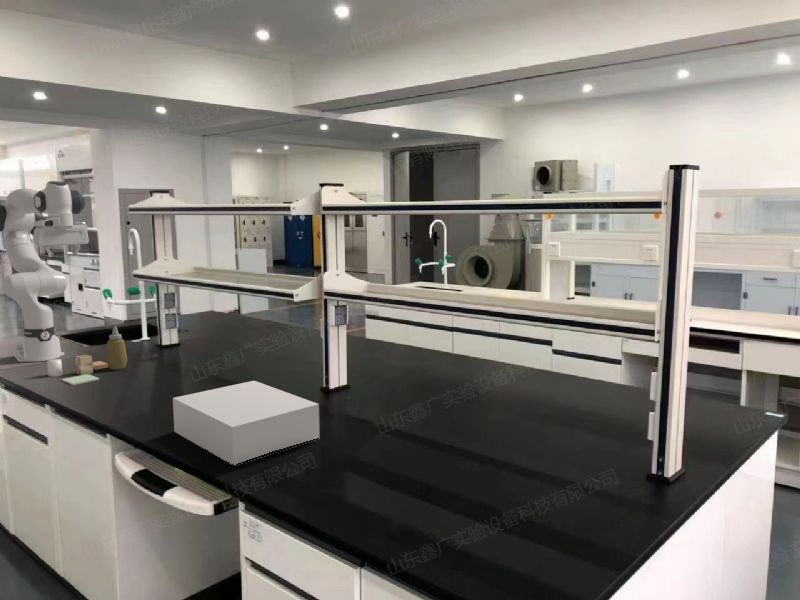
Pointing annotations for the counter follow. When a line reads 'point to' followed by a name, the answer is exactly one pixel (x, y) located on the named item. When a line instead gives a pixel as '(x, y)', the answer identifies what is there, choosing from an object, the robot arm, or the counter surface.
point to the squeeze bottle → (116, 351)
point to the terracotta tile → (99, 365)
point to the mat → (80, 379)
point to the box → (245, 420)
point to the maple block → (84, 364)
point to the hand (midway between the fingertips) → (63, 256)
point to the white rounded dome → (54, 367)
